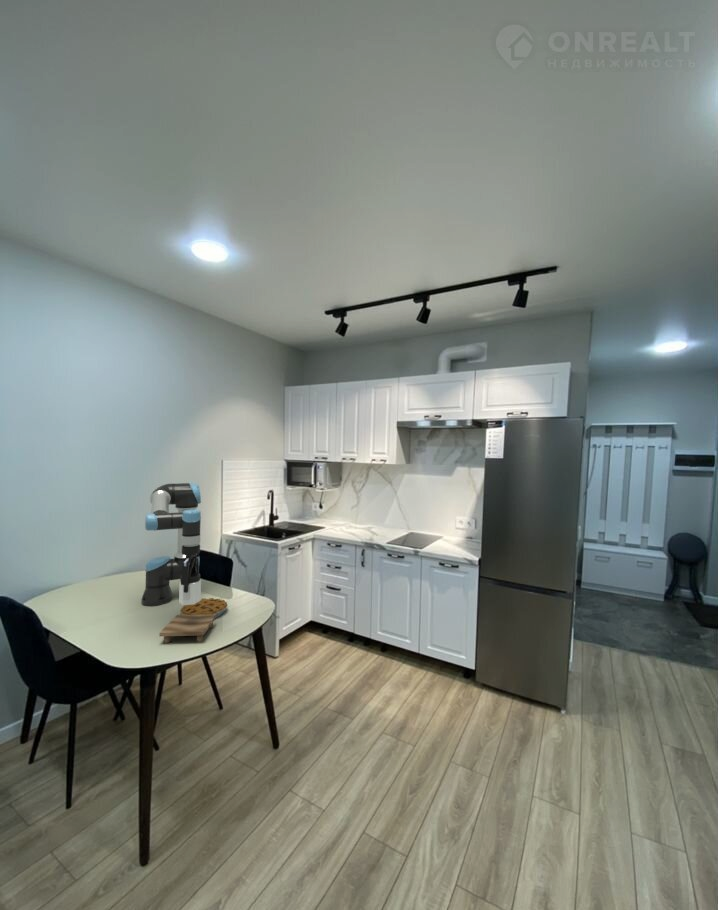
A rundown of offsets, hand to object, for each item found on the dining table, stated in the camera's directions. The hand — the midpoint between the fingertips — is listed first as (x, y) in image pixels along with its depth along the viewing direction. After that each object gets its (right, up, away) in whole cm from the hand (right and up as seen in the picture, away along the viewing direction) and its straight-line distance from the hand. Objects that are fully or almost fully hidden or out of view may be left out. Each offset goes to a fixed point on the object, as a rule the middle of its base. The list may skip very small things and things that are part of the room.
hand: (190, 595), depth 165 cm
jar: (0, -3, 0) cm, 3 cm away
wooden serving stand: (0, -17, 0) cm, 17 cm away
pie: (-3, -18, +22) cm, 29 cm away
